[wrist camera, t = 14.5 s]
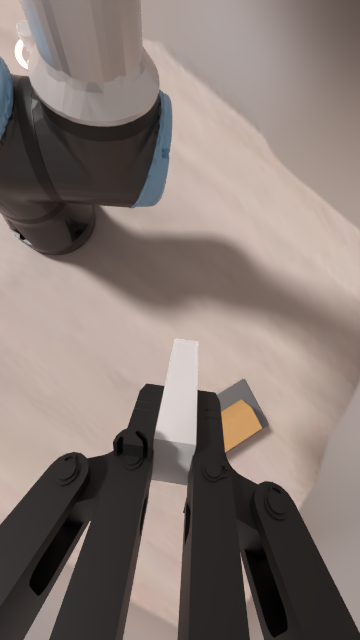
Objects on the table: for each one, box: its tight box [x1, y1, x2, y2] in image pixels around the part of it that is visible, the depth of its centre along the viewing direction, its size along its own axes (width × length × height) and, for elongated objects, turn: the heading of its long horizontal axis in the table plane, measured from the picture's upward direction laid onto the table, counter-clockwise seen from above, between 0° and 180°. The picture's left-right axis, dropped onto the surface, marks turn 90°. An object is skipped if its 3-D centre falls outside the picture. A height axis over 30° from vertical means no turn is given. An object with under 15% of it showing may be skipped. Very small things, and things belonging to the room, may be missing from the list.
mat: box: [217, 379, 268, 453], centre depth 43 cm, size 18×11×1 cm, turn 119°
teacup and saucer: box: [15, 20, 35, 70], centre depth 40 cm, size 9×8×4 cm
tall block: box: [221, 400, 262, 452], centre depth 41 cm, size 4×4×16 cm
